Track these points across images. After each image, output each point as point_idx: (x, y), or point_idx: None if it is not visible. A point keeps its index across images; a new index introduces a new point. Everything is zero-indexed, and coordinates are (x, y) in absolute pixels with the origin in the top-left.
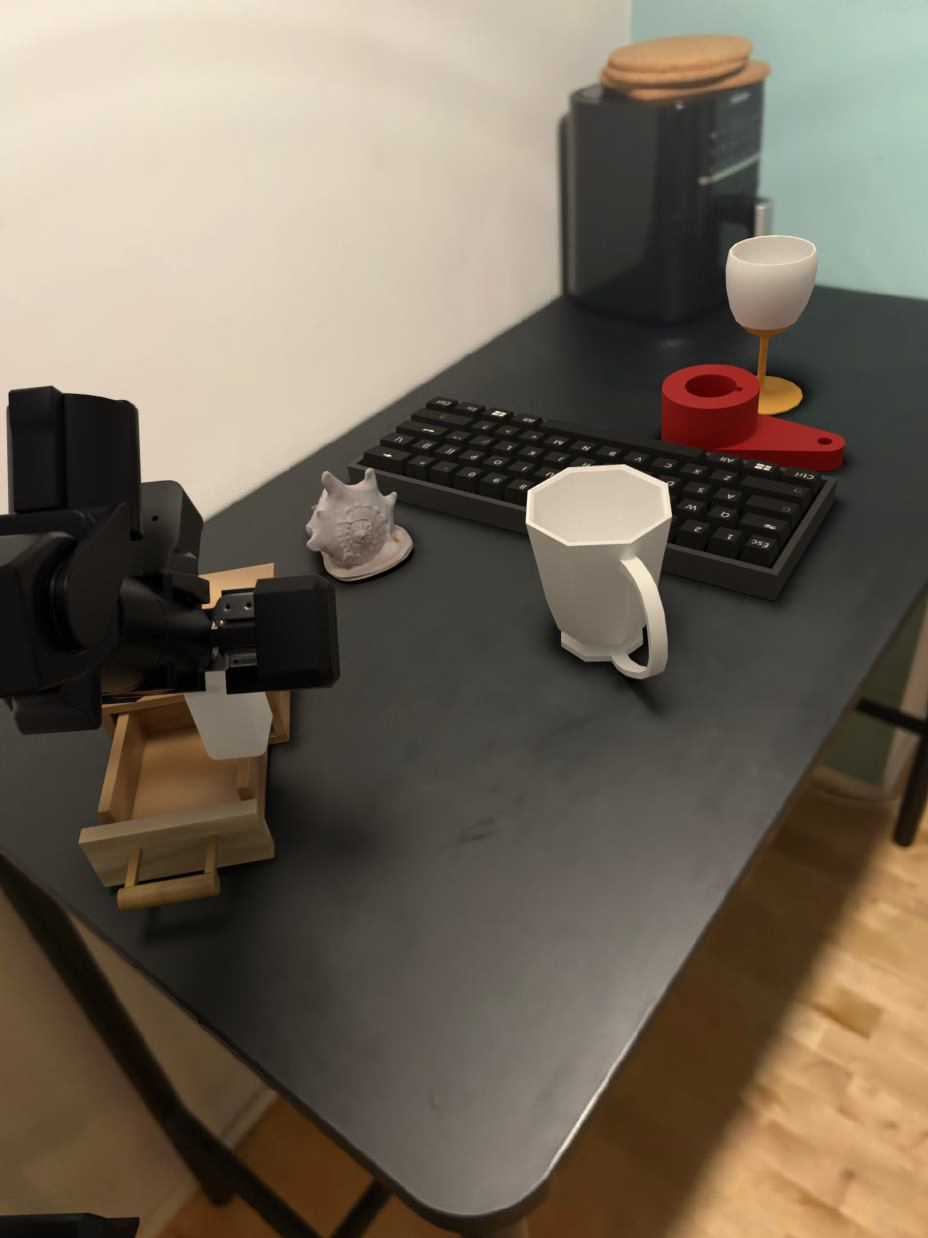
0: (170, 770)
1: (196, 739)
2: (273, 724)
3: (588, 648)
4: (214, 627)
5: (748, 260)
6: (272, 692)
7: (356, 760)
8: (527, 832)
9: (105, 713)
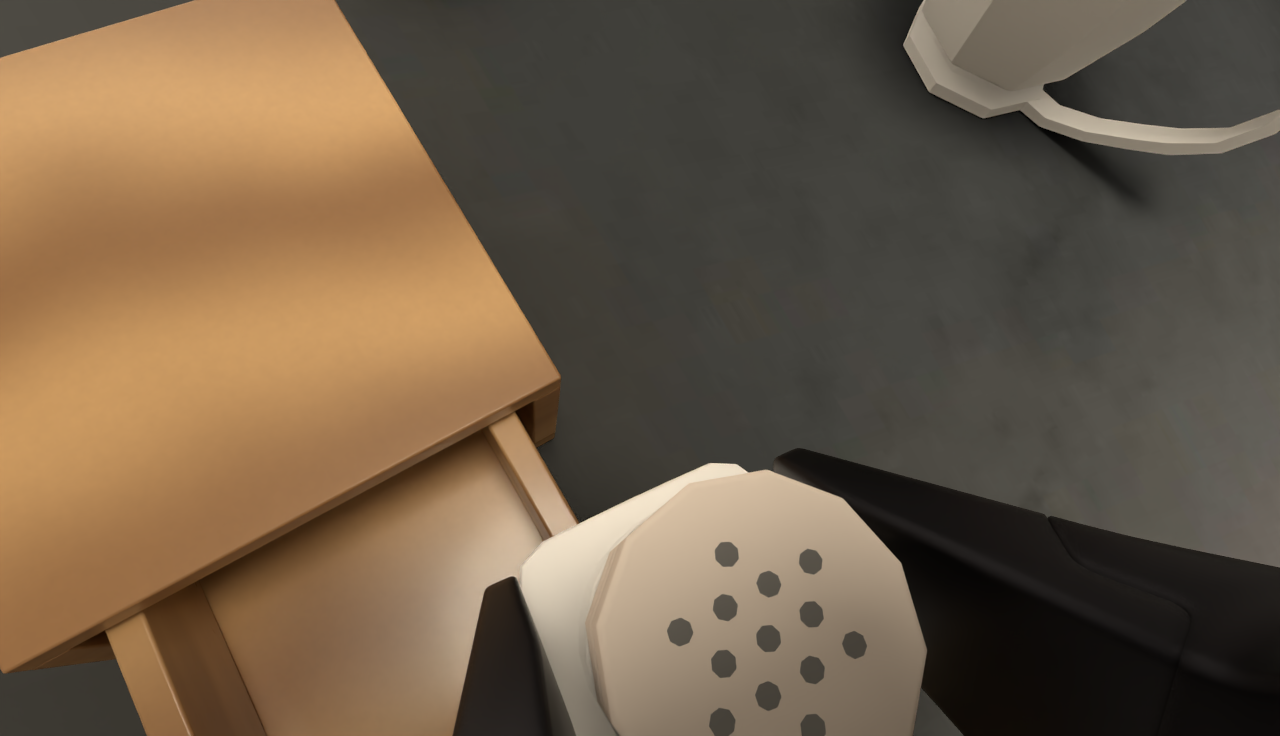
0: (341, 659)
1: (357, 538)
2: (536, 433)
3: (986, 92)
4: (811, 570)
5: None
6: (559, 392)
7: (724, 441)
8: (1103, 501)
9: (52, 655)
